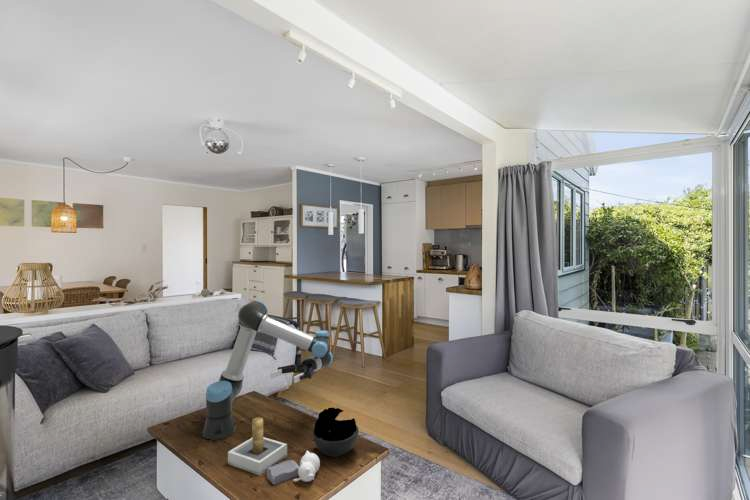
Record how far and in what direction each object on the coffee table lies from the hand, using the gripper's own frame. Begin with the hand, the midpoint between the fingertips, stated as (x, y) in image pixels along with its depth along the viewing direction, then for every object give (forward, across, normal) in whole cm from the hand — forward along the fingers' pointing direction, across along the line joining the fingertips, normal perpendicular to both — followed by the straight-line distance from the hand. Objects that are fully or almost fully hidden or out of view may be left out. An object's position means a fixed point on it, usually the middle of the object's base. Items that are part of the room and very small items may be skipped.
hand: (282, 377), depth 171 cm
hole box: (+16, 0, -30) cm, 34 cm away
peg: (+16, 0, -29) cm, 33 cm away
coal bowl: (-3, -27, -30) cm, 41 cm away
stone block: (+19, -16, -30) cm, 39 cm away
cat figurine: (+16, -26, -30) cm, 43 cm away
